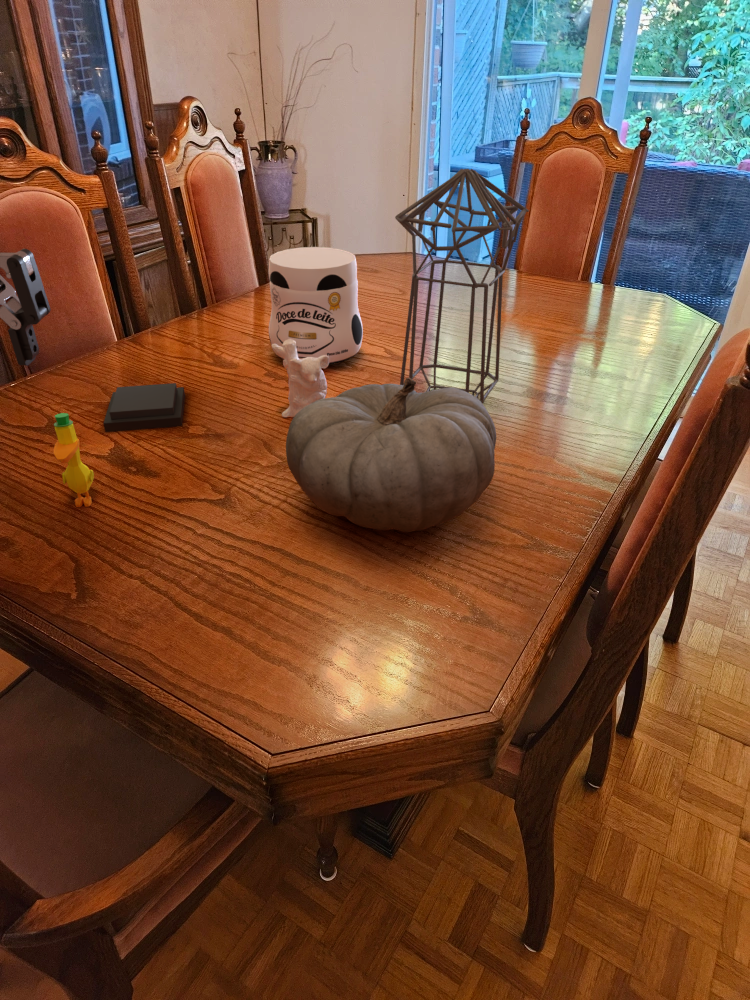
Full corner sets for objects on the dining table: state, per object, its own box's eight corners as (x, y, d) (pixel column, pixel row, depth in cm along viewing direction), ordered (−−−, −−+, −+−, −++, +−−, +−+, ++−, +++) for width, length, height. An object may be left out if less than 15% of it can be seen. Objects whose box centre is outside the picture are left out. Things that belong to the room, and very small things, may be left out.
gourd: (496, 565, 70) (485, 409, 62) (275, 568, 76) (241, 426, 68) (502, 467, 92) (494, 342, 84) (329, 475, 98) (308, 359, 90)
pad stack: (106, 437, 98) (101, 415, 96) (116, 405, 107) (111, 385, 105) (183, 431, 100) (179, 409, 98) (186, 400, 109) (182, 380, 107)
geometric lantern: (385, 423, 103) (390, 173, 83) (418, 384, 115) (428, 158, 95) (485, 442, 98) (515, 181, 78) (508, 399, 110) (538, 165, 91)
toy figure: (93, 517, 81) (69, 430, 75) (62, 520, 81) (35, 432, 74) (102, 488, 87) (80, 404, 80) (73, 490, 86) (49, 406, 80)
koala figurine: (272, 422, 103) (266, 348, 96) (282, 403, 108) (277, 332, 102) (326, 425, 102) (323, 351, 95) (333, 406, 107) (331, 334, 101)
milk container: (287, 380, 116) (279, 275, 106) (259, 346, 129) (250, 250, 119) (377, 365, 122) (378, 264, 112) (342, 334, 135) (340, 242, 125)
